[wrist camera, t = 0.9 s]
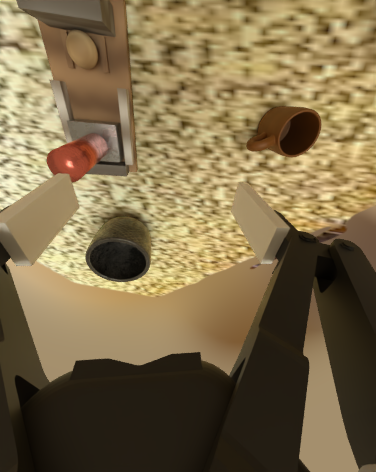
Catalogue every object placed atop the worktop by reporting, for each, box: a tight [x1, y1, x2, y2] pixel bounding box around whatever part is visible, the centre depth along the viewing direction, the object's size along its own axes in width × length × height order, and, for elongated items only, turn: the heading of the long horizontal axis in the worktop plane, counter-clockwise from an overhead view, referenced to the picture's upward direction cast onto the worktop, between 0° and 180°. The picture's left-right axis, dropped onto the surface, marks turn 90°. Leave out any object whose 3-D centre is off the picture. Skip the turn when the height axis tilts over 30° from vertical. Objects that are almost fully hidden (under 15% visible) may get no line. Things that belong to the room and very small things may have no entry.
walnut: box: [66, 30, 98, 69], centre depth 26 cm, size 4×4×4 cm
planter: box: [85, 216, 151, 282], centre depth 45 cm, size 14×14×13 cm
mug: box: [246, 106, 321, 157], centre depth 35 cm, size 12×8×9 cm, turn 106°
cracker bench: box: [17, 0, 138, 176], centre depth 29 cm, size 24×12×9 cm, turn 175°
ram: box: [47, 118, 124, 182], centre depth 28 cm, size 6×8×16 cm
